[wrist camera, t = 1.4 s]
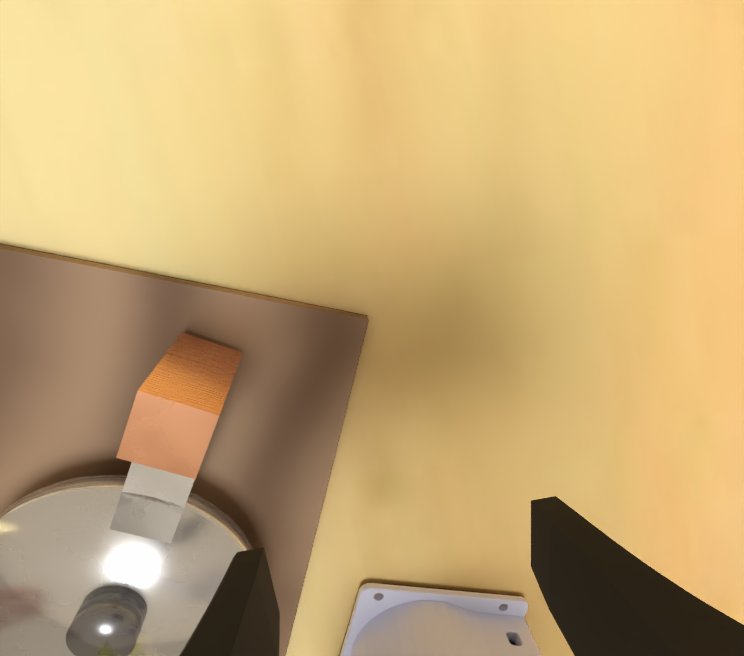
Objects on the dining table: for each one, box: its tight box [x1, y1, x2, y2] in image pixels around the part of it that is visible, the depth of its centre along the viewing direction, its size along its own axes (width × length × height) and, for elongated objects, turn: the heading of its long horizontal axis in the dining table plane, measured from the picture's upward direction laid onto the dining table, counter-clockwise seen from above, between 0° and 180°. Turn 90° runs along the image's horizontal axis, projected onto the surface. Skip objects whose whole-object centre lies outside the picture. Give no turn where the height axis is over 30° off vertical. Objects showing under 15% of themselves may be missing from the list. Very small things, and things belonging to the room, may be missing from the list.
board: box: [0, 244, 369, 656], centre depth 21 cm, size 18×22×2 cm
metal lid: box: [0, 332, 253, 656], centre depth 19 cm, size 18×12×5 cm, turn 156°
